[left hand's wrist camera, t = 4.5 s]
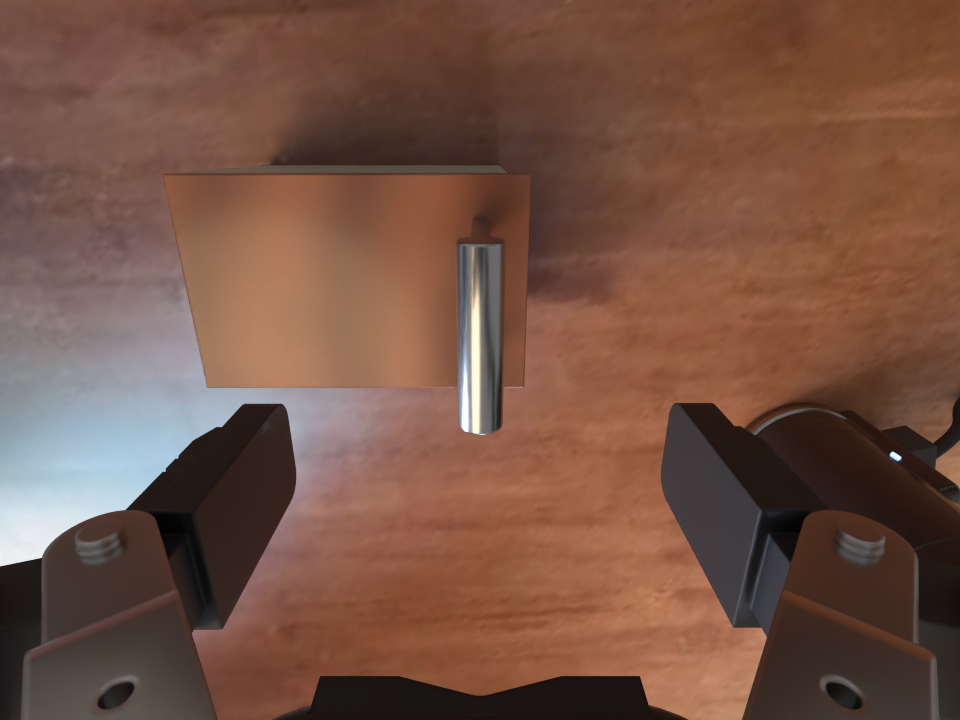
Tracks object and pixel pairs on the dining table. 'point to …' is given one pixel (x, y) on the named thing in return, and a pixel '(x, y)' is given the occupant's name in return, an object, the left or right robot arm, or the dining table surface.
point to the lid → (359, 281)
